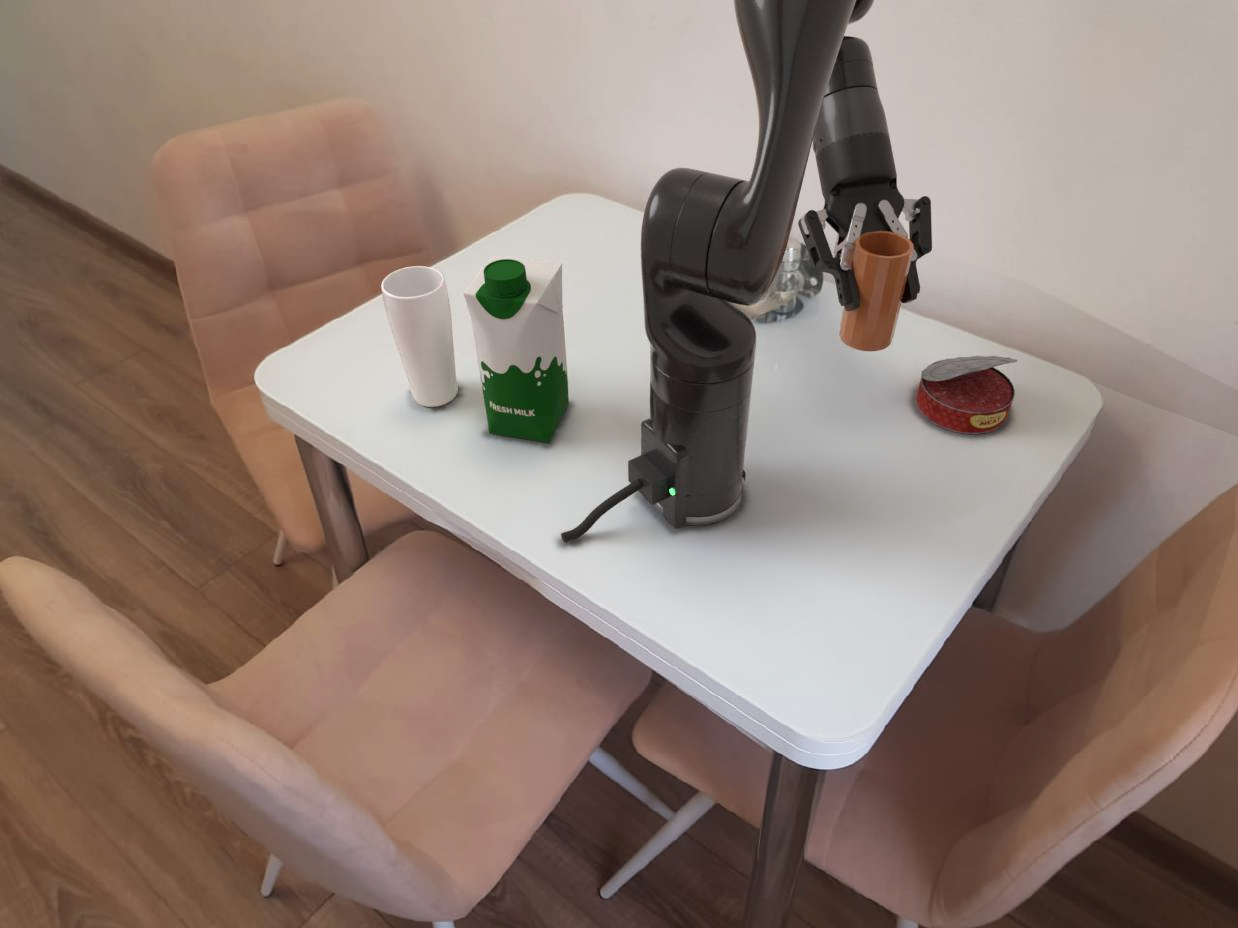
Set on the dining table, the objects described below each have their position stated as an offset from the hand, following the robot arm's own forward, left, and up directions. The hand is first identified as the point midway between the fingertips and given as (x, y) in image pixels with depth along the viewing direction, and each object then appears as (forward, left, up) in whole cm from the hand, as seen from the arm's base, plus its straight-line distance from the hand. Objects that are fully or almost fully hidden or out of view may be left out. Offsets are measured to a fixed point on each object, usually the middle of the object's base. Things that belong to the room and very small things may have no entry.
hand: (881, 304), depth 90 cm
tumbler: (+1, +2, -5) cm, 5 cm away
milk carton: (-32, +19, -13) cm, 40 cm away
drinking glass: (-39, +29, -13) cm, 50 cm away
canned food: (+9, -6, -13) cm, 17 cm away
